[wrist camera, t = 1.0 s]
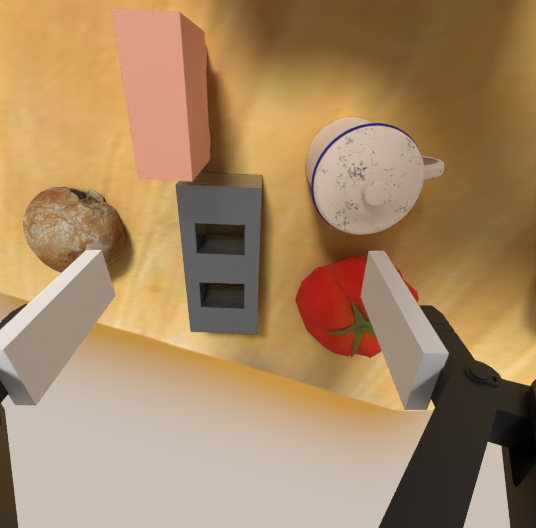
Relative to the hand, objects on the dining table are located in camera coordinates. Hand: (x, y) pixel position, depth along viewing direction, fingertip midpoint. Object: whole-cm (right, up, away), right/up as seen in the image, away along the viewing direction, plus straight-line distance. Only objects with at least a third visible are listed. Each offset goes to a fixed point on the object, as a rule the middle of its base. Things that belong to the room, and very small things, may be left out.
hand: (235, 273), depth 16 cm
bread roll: (-20, +5, +22) cm, 30 cm away
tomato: (+12, -3, +26) cm, 28 cm away
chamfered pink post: (-6, +16, +15) cm, 23 cm away
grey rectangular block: (-3, +2, +23) cm, 23 cm away
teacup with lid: (+11, +12, +18) cm, 24 cm away
